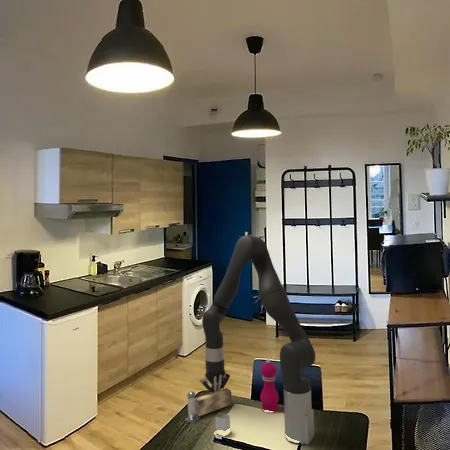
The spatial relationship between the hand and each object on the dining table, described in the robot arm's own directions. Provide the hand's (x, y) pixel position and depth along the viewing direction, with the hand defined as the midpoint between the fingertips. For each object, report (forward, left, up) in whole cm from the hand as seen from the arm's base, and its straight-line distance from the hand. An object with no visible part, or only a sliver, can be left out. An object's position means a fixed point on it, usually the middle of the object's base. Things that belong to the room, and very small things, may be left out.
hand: (216, 399), depth 174 cm
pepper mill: (-20, -8, -3) cm, 21 cm away
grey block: (-12, +16, -3) cm, 20 cm away
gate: (-1, +3, -2) cm, 4 cm away
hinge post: (+3, +12, -3) cm, 13 cm away
